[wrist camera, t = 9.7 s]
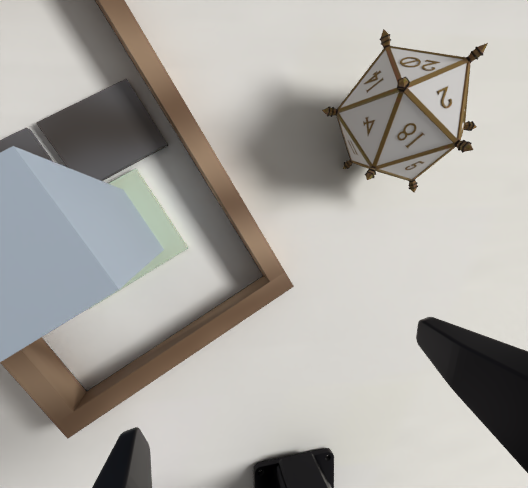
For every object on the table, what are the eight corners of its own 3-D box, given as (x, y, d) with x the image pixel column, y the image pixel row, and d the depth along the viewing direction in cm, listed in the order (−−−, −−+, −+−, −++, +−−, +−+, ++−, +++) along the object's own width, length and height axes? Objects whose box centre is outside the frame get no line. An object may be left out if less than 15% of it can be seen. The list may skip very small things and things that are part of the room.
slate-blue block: (164, 249, 19) (119, 289, 8) (101, 287, 18) (-38, 385, 7) (123, 189, 18) (12, 146, 7) (56, 227, 17) (-175, 239, 7)
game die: (321, 154, 25) (280, 107, 16) (392, 65, 23) (392, -52, 13) (405, 220, 22) (414, 210, 13) (496, 127, 20) (583, 36, 11)
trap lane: (284, 280, 21) (293, 286, 19) (80, 416, 19) (67, 438, 17) (68, -83, 16) (51, -124, 14) (-244, 37, 14) (-314, 8, 12)
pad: (188, 247, 20) (188, 248, 19) (91, 306, 18) (88, 308, 18) (137, 169, 18) (135, 168, 18) (30, 227, 17) (26, 228, 17)
